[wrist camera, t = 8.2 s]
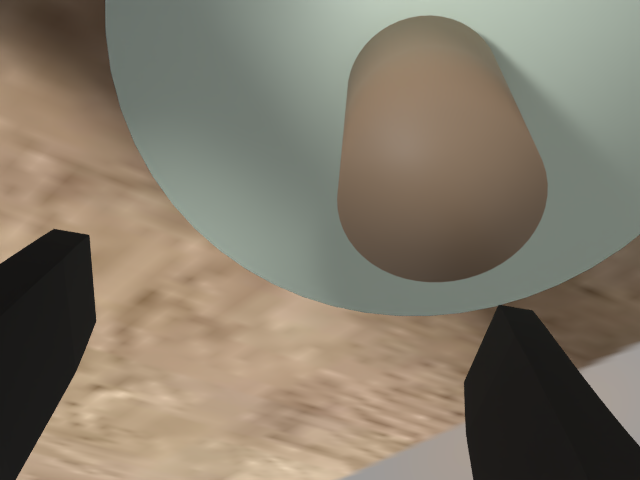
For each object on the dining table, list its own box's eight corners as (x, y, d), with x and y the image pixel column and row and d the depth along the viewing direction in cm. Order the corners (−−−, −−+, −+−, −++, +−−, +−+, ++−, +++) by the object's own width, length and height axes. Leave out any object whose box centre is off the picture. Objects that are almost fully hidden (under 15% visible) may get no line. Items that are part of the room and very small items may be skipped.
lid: (164, 285, 19) (94, 448, 14) (47, -343, 10) (-218, -457, 6) (635, 309, 18) (728, 491, 13) (908, -349, 10) (1409, -487, 5)
